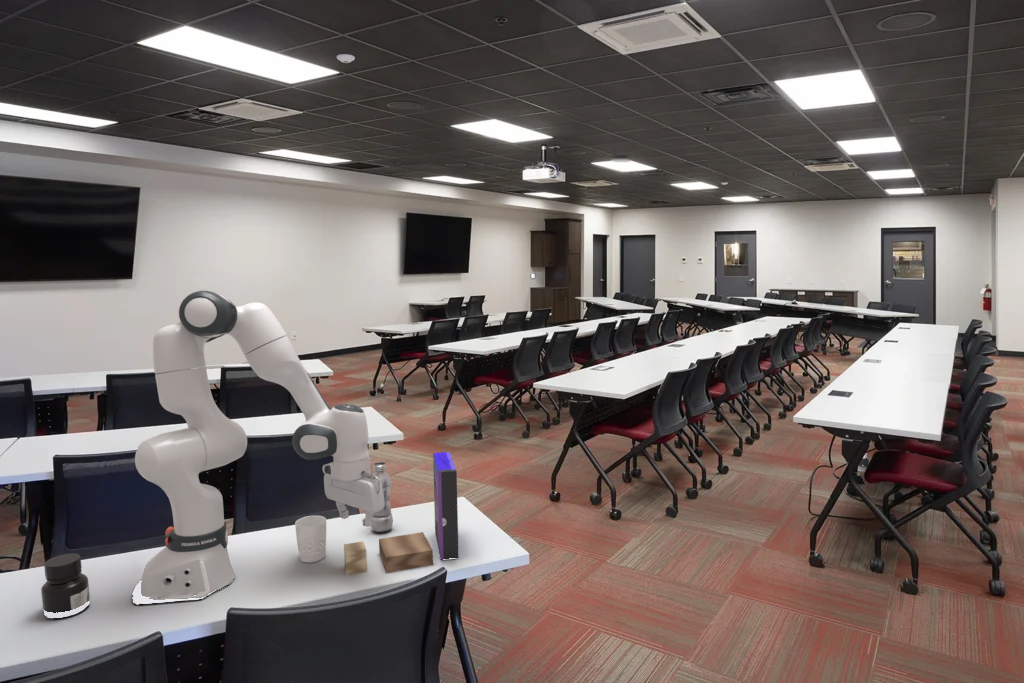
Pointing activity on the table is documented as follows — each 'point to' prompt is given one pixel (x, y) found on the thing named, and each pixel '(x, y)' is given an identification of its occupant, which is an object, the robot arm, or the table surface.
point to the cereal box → (445, 505)
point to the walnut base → (405, 552)
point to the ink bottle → (64, 584)
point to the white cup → (311, 538)
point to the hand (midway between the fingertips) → (355, 521)
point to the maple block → (355, 557)
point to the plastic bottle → (384, 517)
